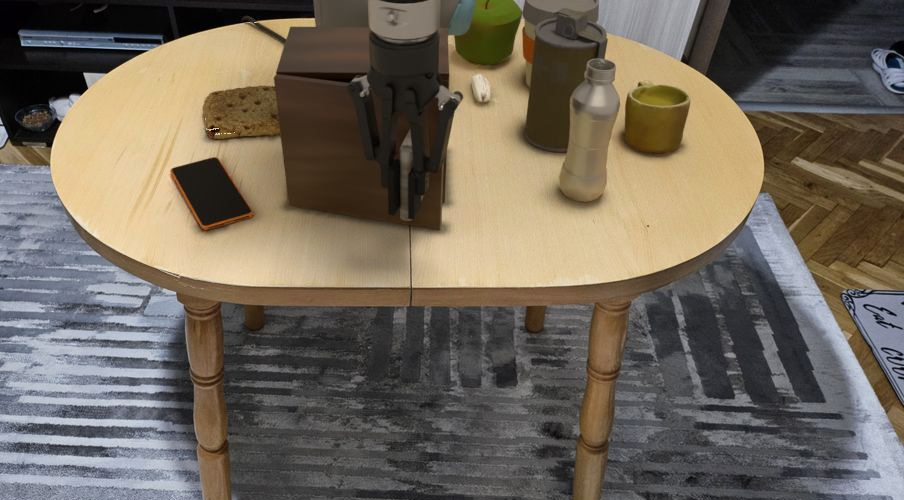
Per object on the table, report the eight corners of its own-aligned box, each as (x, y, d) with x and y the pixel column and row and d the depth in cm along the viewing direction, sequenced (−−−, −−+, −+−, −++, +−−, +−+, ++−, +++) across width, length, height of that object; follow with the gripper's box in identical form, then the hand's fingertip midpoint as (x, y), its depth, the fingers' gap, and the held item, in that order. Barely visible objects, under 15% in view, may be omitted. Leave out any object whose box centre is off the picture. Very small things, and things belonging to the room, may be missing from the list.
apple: (508, 42, 155) (513, -17, 148) (524, 70, 146) (530, 9, 139) (444, 46, 154) (446, -13, 147) (456, 74, 145) (459, 13, 138)
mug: (700, 152, 121) (691, 88, 117) (630, 167, 124) (619, 105, 120) (689, 126, 132) (680, 67, 127) (625, 140, 134) (614, 82, 130)
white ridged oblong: (475, 106, 136) (475, 91, 134) (469, 84, 142) (469, 70, 140) (493, 106, 136) (494, 91, 134) (486, 84, 142) (487, 69, 140)
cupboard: (444, 203, 115) (449, 73, 102) (290, 201, 115) (275, 71, 102) (443, 151, 125) (447, 27, 112) (302, 150, 126) (290, 26, 113)
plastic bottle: (593, 212, 113) (618, 80, 100) (549, 198, 116) (567, 68, 103) (610, 190, 117) (636, 61, 104) (567, 176, 120) (586, 49, 107)
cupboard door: (427, 260, 105) (430, 126, 92) (269, 234, 109) (251, 102, 96) (441, 225, 110) (446, 94, 98) (291, 201, 115) (276, 73, 102)
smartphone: (203, 232, 109) (202, 227, 109) (169, 173, 121) (168, 168, 120) (256, 216, 112) (255, 211, 111) (218, 160, 123) (217, 155, 123)
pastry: (174, 124, 132) (170, 107, 130) (246, 83, 143) (243, 67, 141) (253, 155, 125) (250, 138, 123) (323, 109, 135) (321, 93, 133)
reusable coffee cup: (579, 66, 147) (592, -16, 138) (594, 99, 138) (608, 13, 128) (511, 67, 147) (518, -15, 137) (521, 100, 138) (529, 14, 128)
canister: (510, 136, 129) (521, 14, 116) (548, 112, 134) (563, -7, 121) (567, 161, 123) (586, 35, 110) (604, 135, 129) (626, 13, 116)
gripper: (324, 34, 84) (337, 216, 100) (461, 55, 81) (453, 241, 96) (352, 7, 90) (360, 183, 105) (482, 25, 86) (470, 206, 101)
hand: (404, 210), depth 101 cm, fingers closed on cupboard door, 2 cm apart
